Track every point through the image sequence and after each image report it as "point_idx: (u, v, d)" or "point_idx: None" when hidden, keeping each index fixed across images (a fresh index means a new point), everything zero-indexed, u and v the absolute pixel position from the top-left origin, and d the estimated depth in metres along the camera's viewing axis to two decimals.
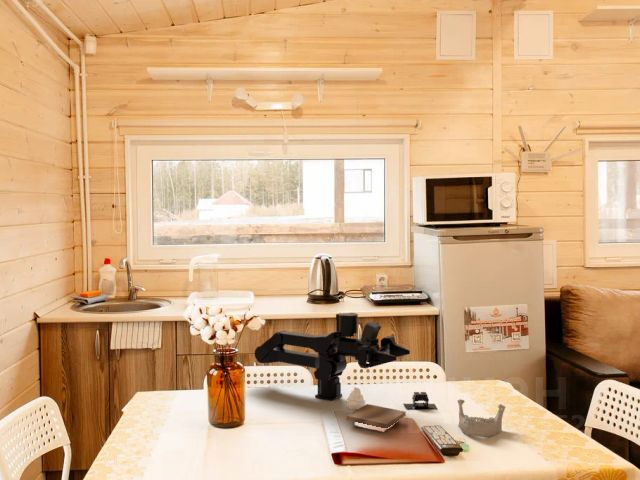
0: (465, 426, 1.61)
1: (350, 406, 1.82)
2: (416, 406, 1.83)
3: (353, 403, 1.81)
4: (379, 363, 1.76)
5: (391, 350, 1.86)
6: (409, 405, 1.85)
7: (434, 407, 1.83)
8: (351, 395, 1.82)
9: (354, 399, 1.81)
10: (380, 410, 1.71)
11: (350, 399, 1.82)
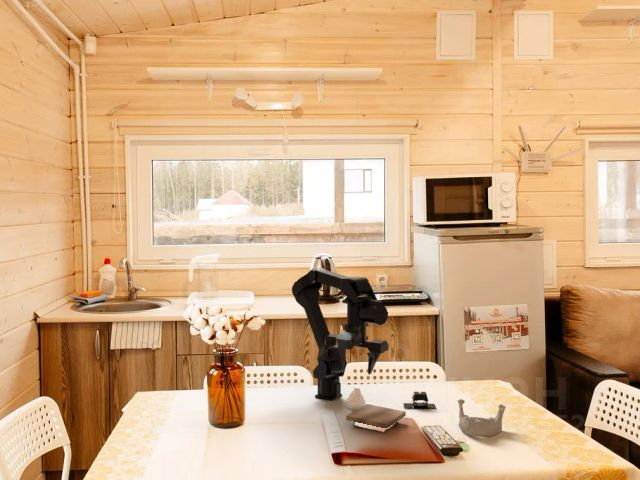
0: (465, 426, 1.61)
1: (350, 406, 1.82)
2: (415, 405, 1.83)
3: (354, 403, 1.81)
4: None
5: None
6: (409, 404, 1.85)
7: (434, 407, 1.83)
8: (352, 395, 1.82)
9: (354, 399, 1.81)
10: (380, 410, 1.71)
11: (350, 399, 1.82)
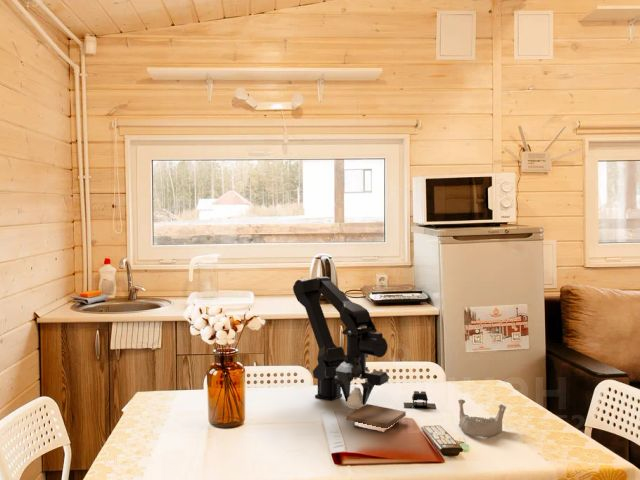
0: (465, 426, 1.62)
1: (350, 406, 1.82)
2: (415, 405, 1.84)
3: (354, 403, 1.81)
4: None
5: None
6: (409, 404, 1.86)
7: (433, 407, 1.83)
8: (352, 395, 1.82)
9: (354, 399, 1.81)
10: (380, 410, 1.71)
11: (350, 399, 1.82)
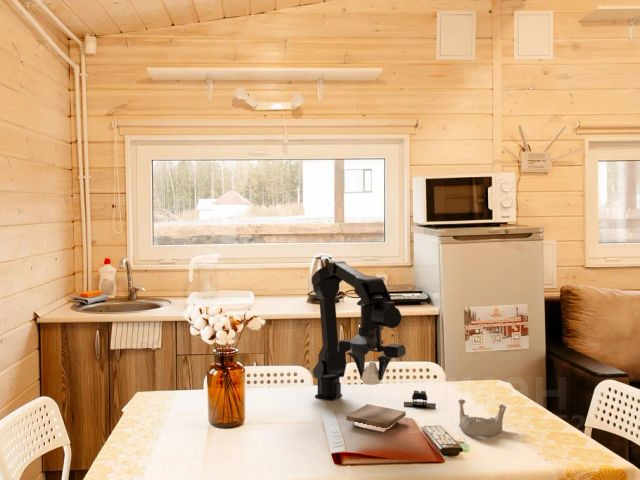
0: (465, 426, 1.62)
1: (366, 381, 1.71)
2: (414, 404, 1.84)
3: (369, 378, 1.70)
4: None
5: None
6: (408, 403, 1.86)
7: (433, 406, 1.84)
8: (367, 370, 1.71)
9: (370, 374, 1.70)
10: (380, 410, 1.71)
11: (365, 374, 1.71)
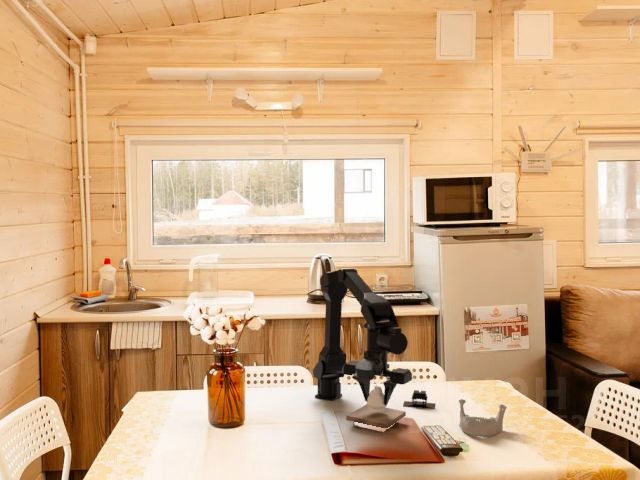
0: (465, 426, 1.62)
1: (371, 406, 1.67)
2: (414, 404, 1.85)
3: (375, 403, 1.66)
4: None
5: None
6: (408, 403, 1.87)
7: (432, 406, 1.84)
8: (372, 394, 1.67)
9: (375, 399, 1.66)
10: (380, 410, 1.71)
11: (371, 399, 1.67)
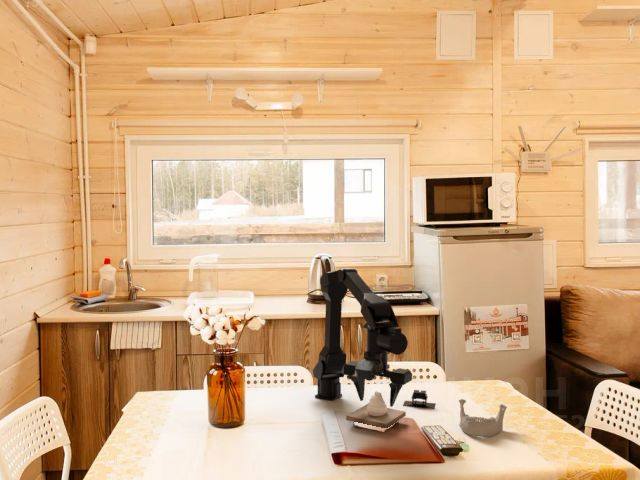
0: (465, 426, 1.62)
1: (371, 412, 1.67)
2: (414, 404, 1.85)
3: (375, 409, 1.66)
4: None
5: None
6: (409, 402, 1.87)
7: (432, 406, 1.84)
8: (372, 400, 1.67)
9: (375, 405, 1.66)
10: None
11: (371, 405, 1.67)
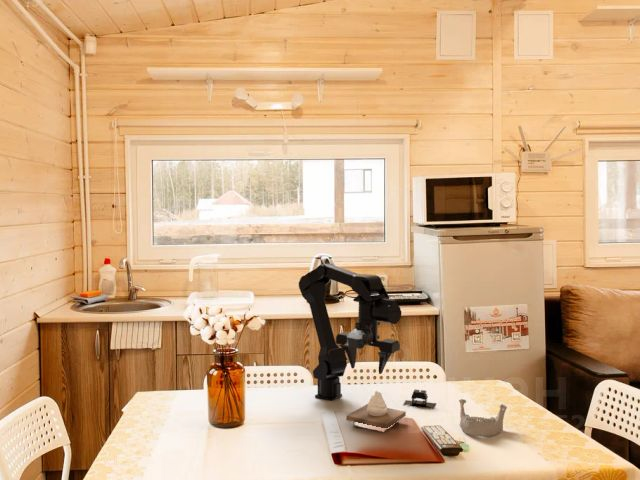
0: (465, 426, 1.62)
1: (371, 412, 1.67)
2: (414, 403, 1.85)
3: (375, 409, 1.66)
4: None
5: None
6: (409, 402, 1.88)
7: (432, 406, 1.84)
8: (372, 400, 1.67)
9: (375, 405, 1.66)
10: None
11: (371, 405, 1.67)
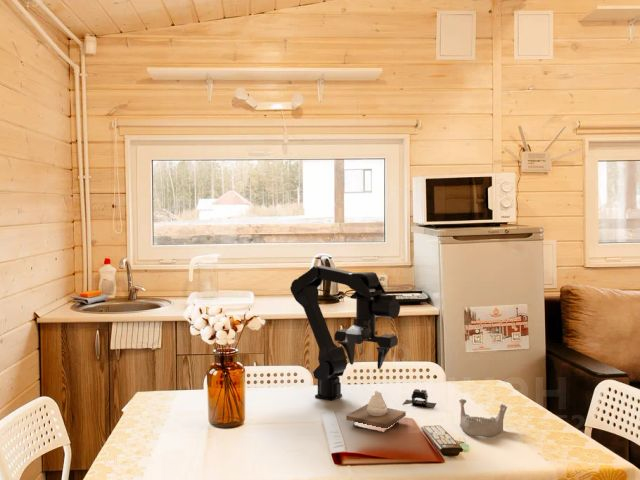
0: (465, 426, 1.62)
1: (371, 412, 1.67)
2: (414, 403, 1.86)
3: (375, 409, 1.66)
4: None
5: None
6: (409, 401, 1.88)
7: (432, 406, 1.84)
8: (372, 400, 1.67)
9: (375, 405, 1.66)
10: None
11: (371, 405, 1.67)
